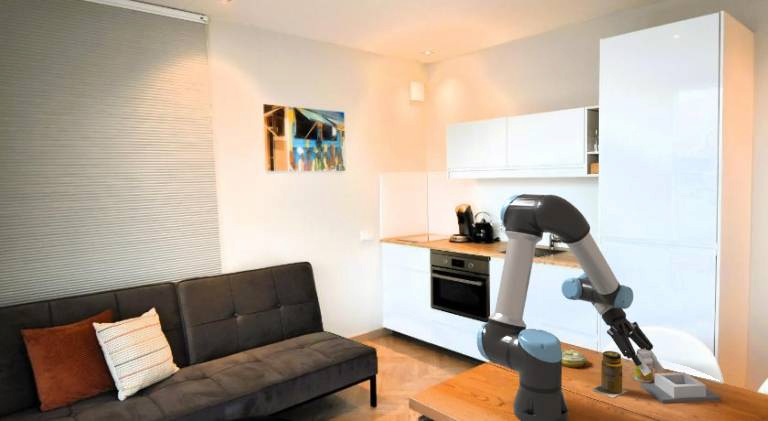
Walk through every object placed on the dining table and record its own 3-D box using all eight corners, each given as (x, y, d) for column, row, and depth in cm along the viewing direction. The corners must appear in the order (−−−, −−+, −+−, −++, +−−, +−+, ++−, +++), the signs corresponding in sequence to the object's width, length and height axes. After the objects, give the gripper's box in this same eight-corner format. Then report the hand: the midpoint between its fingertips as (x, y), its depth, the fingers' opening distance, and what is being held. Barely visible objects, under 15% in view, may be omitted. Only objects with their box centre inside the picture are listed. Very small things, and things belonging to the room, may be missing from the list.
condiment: (628, 391, 151) (628, 354, 151) (612, 398, 147) (613, 360, 146) (606, 383, 157) (606, 347, 157) (591, 390, 153) (591, 353, 152)
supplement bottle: (630, 378, 161) (630, 349, 160) (641, 374, 163) (641, 347, 162) (645, 384, 156) (645, 354, 155) (656, 380, 158) (656, 352, 158)
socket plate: (661, 402, 143) (661, 388, 143) (640, 387, 154) (640, 373, 154) (720, 400, 144) (720, 385, 143) (695, 384, 154) (695, 371, 154)
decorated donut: (592, 364, 174) (592, 354, 174) (574, 371, 168) (574, 360, 168) (567, 355, 183) (567, 346, 183) (549, 362, 177) (549, 352, 177)
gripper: (620, 312, 176) (663, 371, 163) (585, 320, 168) (627, 383, 154) (634, 301, 171) (679, 361, 158) (598, 309, 163) (643, 372, 149)
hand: (653, 372), depth 156 cm, fingers closed on supplement bottle, 5 cm apart
